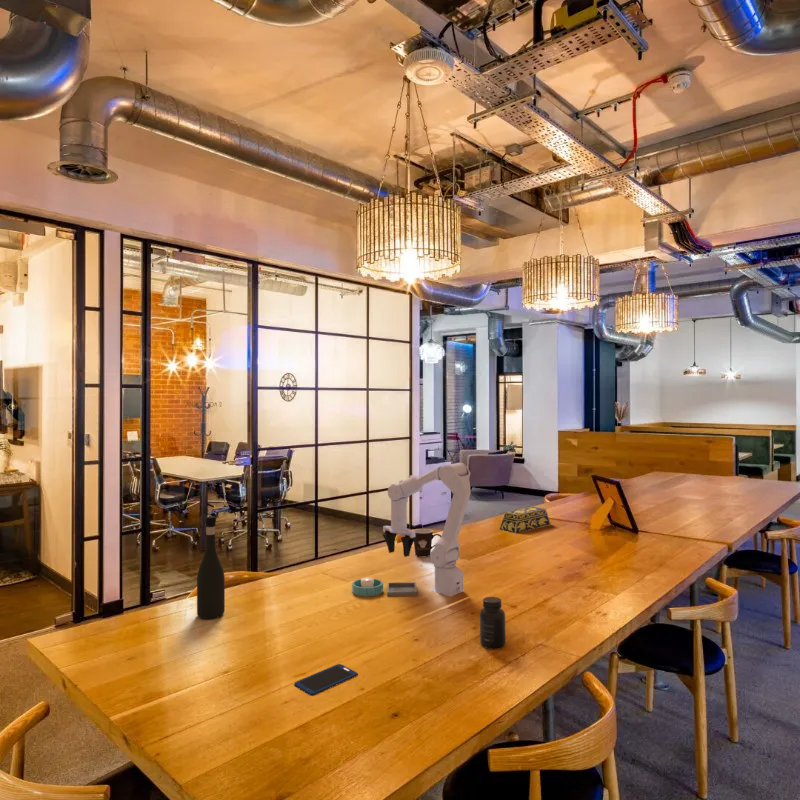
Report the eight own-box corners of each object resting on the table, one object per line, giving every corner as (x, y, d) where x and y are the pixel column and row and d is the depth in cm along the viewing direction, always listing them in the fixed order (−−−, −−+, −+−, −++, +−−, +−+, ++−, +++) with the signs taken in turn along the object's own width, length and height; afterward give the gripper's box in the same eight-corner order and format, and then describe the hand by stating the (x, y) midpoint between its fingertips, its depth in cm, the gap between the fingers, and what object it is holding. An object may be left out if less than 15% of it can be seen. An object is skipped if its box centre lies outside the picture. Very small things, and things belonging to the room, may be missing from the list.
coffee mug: (409, 555, 240) (409, 531, 240) (418, 550, 248) (418, 527, 248) (434, 559, 235) (434, 534, 235) (442, 554, 243) (442, 530, 243)
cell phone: (359, 676, 136) (359, 673, 136) (311, 698, 127) (311, 694, 127) (339, 666, 142) (339, 663, 142) (292, 686, 132) (292, 682, 132)
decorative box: (551, 525, 300) (551, 508, 300) (515, 534, 280) (515, 515, 280) (534, 522, 308) (534, 505, 308) (498, 530, 288) (498, 512, 288)
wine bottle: (196, 612, 177) (196, 515, 177) (223, 609, 179) (223, 513, 179) (197, 621, 169) (197, 520, 169) (225, 618, 172) (225, 518, 172)
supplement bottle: (488, 636, 158) (488, 593, 158) (510, 643, 154) (510, 598, 154) (474, 644, 153) (474, 600, 153) (497, 652, 148) (497, 605, 148)
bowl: (388, 592, 194) (388, 582, 194) (366, 600, 187) (366, 590, 187) (368, 586, 201) (368, 576, 201) (346, 593, 194) (346, 583, 194)
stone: (376, 591, 194) (376, 579, 194) (366, 594, 191) (366, 582, 191) (368, 588, 197) (368, 576, 197) (358, 591, 194) (358, 579, 194)
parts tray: (415, 587, 200) (415, 582, 200) (417, 597, 190) (417, 591, 190) (387, 587, 199) (387, 582, 199) (387, 597, 189) (387, 592, 189)
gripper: (377, 515, 210) (377, 552, 210) (405, 521, 200) (406, 560, 200) (390, 512, 215) (390, 548, 215) (419, 518, 205) (419, 556, 205)
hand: (398, 554), depth 208 cm, fingers open, 7 cm apart
